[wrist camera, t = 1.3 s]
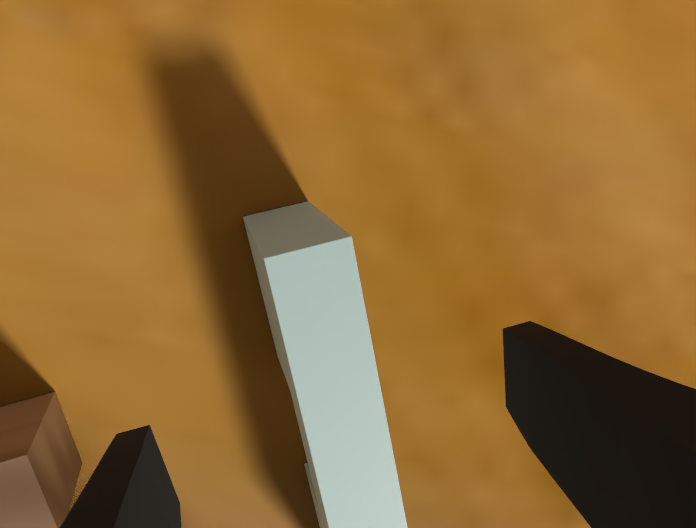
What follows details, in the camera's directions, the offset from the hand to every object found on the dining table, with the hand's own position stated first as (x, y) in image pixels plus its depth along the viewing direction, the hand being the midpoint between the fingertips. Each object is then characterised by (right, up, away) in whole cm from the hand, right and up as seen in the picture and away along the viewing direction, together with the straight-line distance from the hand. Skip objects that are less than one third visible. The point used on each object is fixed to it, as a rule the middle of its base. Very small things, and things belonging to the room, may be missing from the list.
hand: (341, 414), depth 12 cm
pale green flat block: (-1, -3, +12) cm, 12 cm away
